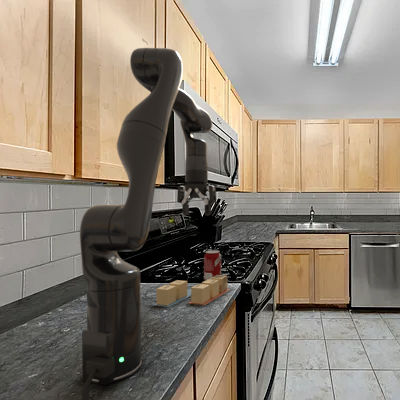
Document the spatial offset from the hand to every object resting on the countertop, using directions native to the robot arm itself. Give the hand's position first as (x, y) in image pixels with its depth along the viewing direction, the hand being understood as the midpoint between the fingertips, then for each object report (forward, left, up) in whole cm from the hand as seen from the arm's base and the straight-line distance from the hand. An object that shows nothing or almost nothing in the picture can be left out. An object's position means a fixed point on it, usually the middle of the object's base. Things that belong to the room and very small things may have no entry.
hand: (196, 215), depth 109 cm
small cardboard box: (+5, -6, -28) cm, 29 cm away
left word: (-5, +4, -28) cm, 29 cm away
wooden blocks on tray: (-1, -6, -28) cm, 29 cm away
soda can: (+17, +4, -28) cm, 33 cm away
